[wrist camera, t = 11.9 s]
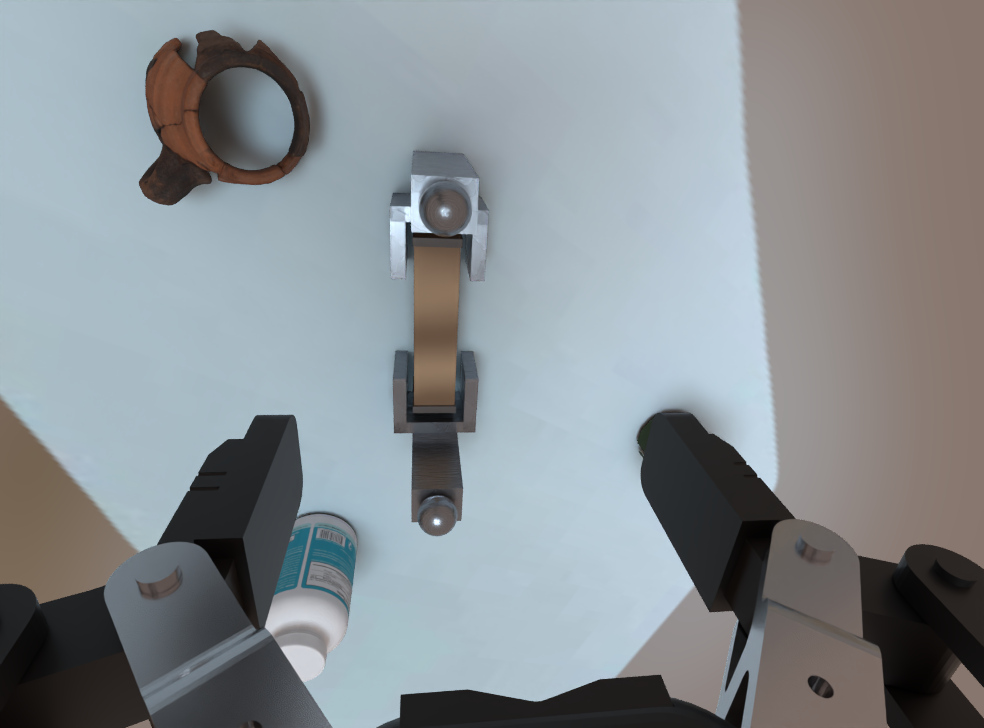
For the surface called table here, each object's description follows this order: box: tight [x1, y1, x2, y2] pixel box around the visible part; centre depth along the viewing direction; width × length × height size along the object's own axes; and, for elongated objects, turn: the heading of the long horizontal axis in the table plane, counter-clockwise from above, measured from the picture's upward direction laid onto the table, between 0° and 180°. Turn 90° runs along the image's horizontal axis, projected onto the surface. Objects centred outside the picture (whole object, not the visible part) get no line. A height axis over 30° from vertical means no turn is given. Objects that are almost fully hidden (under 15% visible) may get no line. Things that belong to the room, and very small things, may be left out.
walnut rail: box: [413, 232, 463, 413], centre depth 42 cm, size 14×3×5 cm, turn 176°
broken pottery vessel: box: [139, 30, 310, 205], centre depth 35 cm, size 12×10×8 cm
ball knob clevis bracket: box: [390, 151, 489, 536], centre depth 38 cm, size 24×7×14 cm, turn 176°
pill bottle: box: [265, 514, 357, 682], centre depth 48 cm, size 8×7×14 cm
